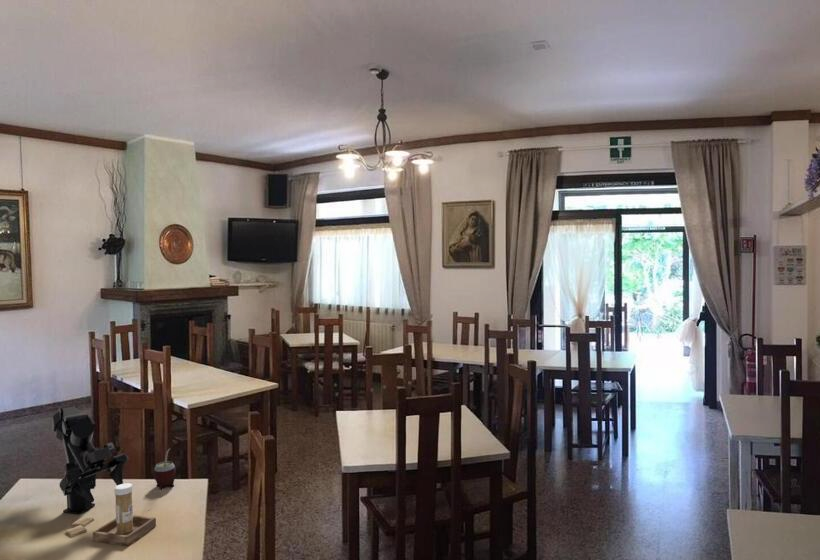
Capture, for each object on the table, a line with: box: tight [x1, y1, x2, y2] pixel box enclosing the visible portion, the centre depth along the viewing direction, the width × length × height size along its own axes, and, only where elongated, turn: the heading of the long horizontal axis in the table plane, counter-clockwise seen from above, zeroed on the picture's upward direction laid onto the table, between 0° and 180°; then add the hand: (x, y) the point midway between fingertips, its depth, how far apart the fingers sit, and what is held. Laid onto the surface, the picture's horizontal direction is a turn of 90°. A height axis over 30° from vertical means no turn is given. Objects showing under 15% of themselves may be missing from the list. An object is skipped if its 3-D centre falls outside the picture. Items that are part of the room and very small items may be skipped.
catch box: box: [92, 514, 157, 547], centre depth 163 cm, size 12×12×2 cm
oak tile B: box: [65, 525, 88, 538], centre depth 164 cm, size 4×4×1 cm
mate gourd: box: [153, 447, 177, 491], centre depth 195 cm, size 8×8×15 cm
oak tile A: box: [71, 517, 95, 528], centre depth 169 cm, size 4×4×1 cm
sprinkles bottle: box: [114, 482, 134, 534], centre depth 163 cm, size 5×5×14 cm
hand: (108, 494), depth 167 cm, fingers open, 9 cm apart
